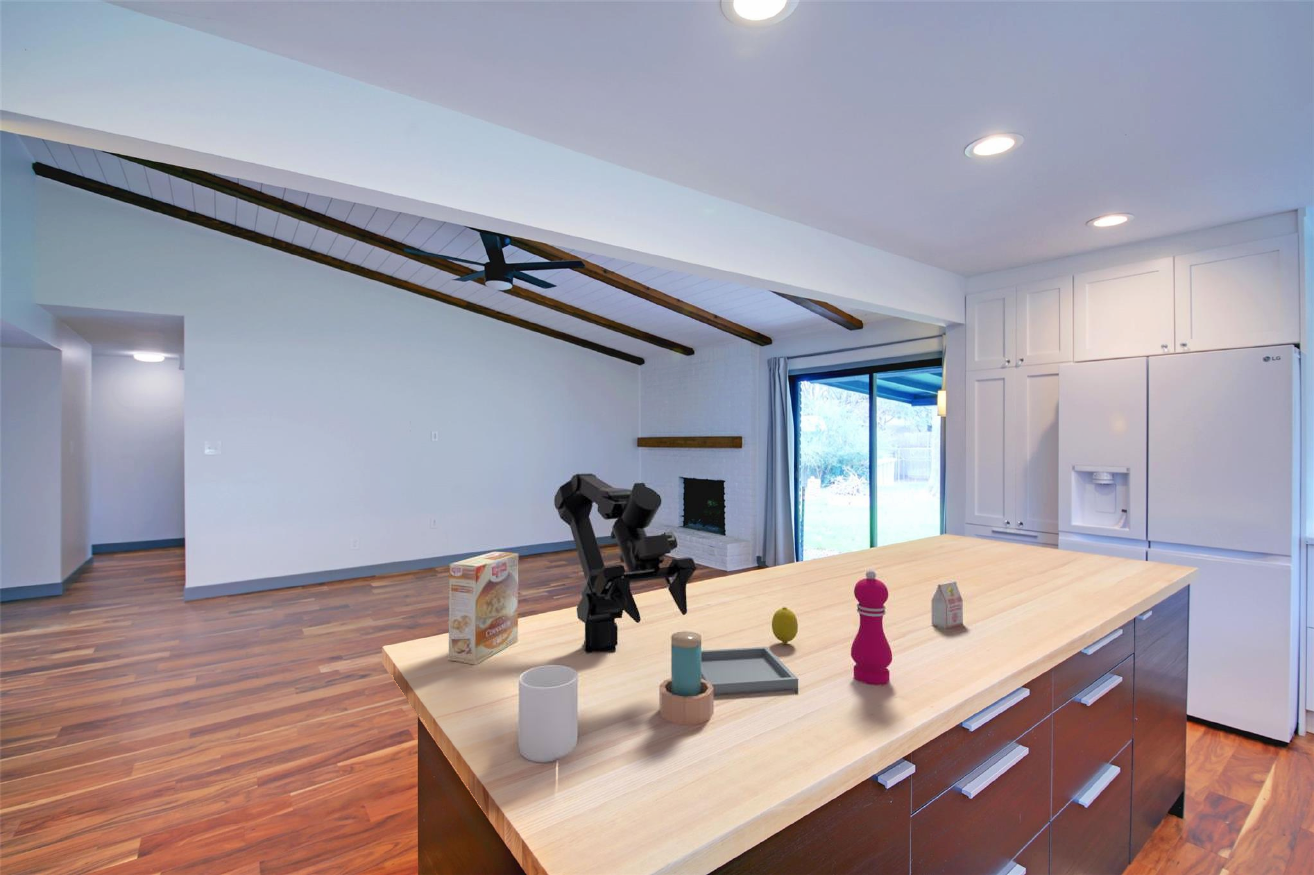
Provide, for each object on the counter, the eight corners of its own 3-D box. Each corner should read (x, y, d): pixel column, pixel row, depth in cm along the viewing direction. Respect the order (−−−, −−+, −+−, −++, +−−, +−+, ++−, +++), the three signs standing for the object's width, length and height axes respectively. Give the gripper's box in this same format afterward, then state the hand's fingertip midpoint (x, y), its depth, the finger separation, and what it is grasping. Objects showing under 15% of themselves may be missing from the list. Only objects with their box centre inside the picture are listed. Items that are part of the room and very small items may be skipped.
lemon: (798, 649, 121) (798, 611, 122) (771, 647, 123) (771, 609, 123) (797, 640, 127) (797, 604, 127) (771, 638, 128) (771, 602, 128)
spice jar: (674, 719, 89) (674, 642, 89) (668, 705, 94) (668, 632, 94) (704, 717, 90) (704, 640, 90) (697, 703, 94) (697, 630, 95)
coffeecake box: (476, 665, 112) (476, 566, 113) (446, 660, 115) (447, 563, 115) (519, 641, 126) (520, 552, 127) (492, 637, 129) (493, 550, 129)
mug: (498, 735, 85) (499, 665, 86) (549, 719, 90) (549, 653, 91) (534, 771, 76) (534, 693, 76) (588, 751, 81) (588, 677, 81)
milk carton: (931, 624, 138) (931, 583, 138) (948, 620, 142) (948, 579, 142) (946, 628, 135) (945, 586, 135) (962, 624, 139) (962, 582, 139)
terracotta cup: (664, 730, 87) (664, 700, 87) (656, 705, 95) (656, 678, 95) (718, 725, 88) (718, 696, 88) (705, 701, 97) (705, 674, 97)
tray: (709, 699, 97) (709, 684, 97) (689, 663, 113) (689, 651, 113) (798, 693, 100) (798, 678, 100) (766, 659, 116) (766, 646, 116)
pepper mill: (891, 673, 109) (890, 567, 109) (893, 688, 102) (893, 575, 102) (851, 668, 111) (850, 565, 111) (850, 683, 104) (850, 572, 104)
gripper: (600, 520, 99) (629, 599, 89) (691, 514, 108) (726, 585, 99) (583, 557, 106) (608, 635, 96) (670, 549, 115) (700, 618, 105)
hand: (662, 617), depth 99 cm, fingers open, 9 cm apart
